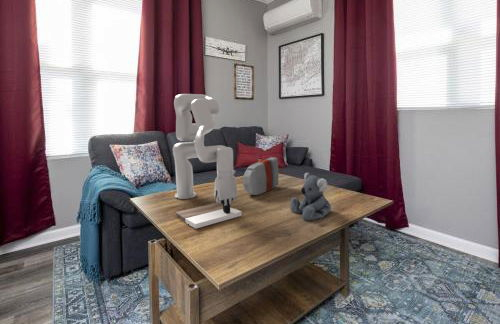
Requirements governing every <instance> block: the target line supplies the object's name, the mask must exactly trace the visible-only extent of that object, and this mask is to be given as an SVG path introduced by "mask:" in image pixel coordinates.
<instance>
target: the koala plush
mask: <svg viewBox="0 0 500 324" xmlns="http://www.w3.org/2000/svg"><path fill="white" fill-rule="evenodd" d="M303 176H304V178H303V179H304V182H303V185H302V187H301V191H300V192H301V194H302V195H303V196H304V197H303V199H302V200H301V202H300V200H299V198H298V197H292V198H291V201H290V204H289V209H290V211H291V212H293V213H296V214H301V218H302V219H303V221H314V220H317V219H323V218H324V217H325V216H327V215H328V214H329V213H330V211H331V209H332V206H331V203H330V202H329V200H327V198H326V197H325V195H324V191H326V190H327V188H328V181H327V179H324V177H322V178H321V177H318V176H317V175H312V174H311V173H309V172H308V171H307V172H305V173H304V175H303Z"/></svg>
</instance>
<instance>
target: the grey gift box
mask: <svg viewBox="0 0 500 324" xmlns="http://www.w3.org/2000/svg"><path fill="white" fill-rule="evenodd" d="M278 159H279V158H277V157H272V156H271V157H268V158H266V159H262V160H259V161H258V162H255V163H253V164H250V165H249V166H248V167H247V169H245V172H244V174H243V177H242V178H243V180H242V184H243V188H244V192H246V193H247V194H249V195H253V196H258V195H262V194H263V193H265V192H266V193H267V192H270V191H271V190H272V188H275V187H277V186H278V185H279V162H278V161H279V160H278Z"/></svg>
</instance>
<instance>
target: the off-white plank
mask: <svg viewBox="0 0 500 324" xmlns="http://www.w3.org/2000/svg"><path fill="white" fill-rule="evenodd" d="M242 213H243V212H242V210H238V209H237V208H233V207H231V206H230V213H228V214H226V213H224V211H223V209H220V210H216V211H213V212H209V213H205V214H201V215H197V216H193V217H189V218H185V222H186V223H185V222H184V223H185V224H187V225H188V224H189V225H188V226H191V227H192V228H194V229H199V228H204V227H206V226H209V225H214V224H217V223H220V222H224V221H228V220H231V219H234V218H238V217H241V216H242Z"/></svg>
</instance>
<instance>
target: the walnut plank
mask: <svg viewBox="0 0 500 324" xmlns="http://www.w3.org/2000/svg"><path fill="white" fill-rule="evenodd" d="M220 209H223V204H222V203H217V202H216V201H215V202H211V203H209V204H208V203H207V204H205V205H200V206H195V207H192V208H186V209H183V210H179V211H175V217H176V216H177V219H179V218H180V219H179V220H181V221H182V220H183V221H184V223H185V218H189V217H193V216H197V215H201V214H205V213H209V212H213V211H216V210H220ZM183 221H182V222H183Z"/></svg>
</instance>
